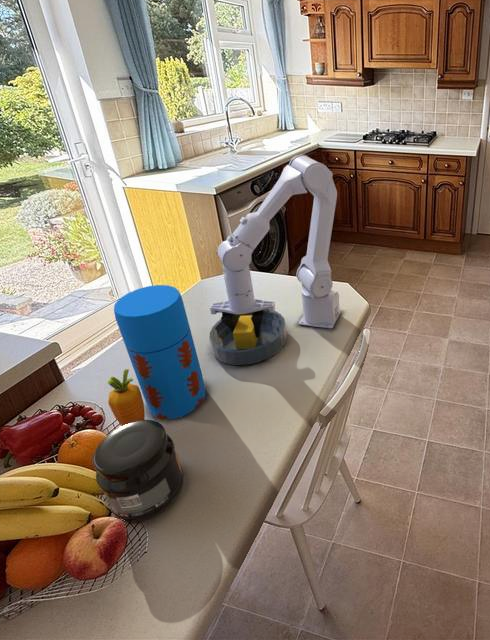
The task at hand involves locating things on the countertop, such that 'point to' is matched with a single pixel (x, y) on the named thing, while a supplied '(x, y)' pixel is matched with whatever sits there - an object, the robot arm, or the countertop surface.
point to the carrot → (126, 400)
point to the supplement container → (138, 470)
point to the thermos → (161, 350)
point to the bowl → (265, 347)
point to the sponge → (245, 333)
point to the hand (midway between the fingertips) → (248, 335)
